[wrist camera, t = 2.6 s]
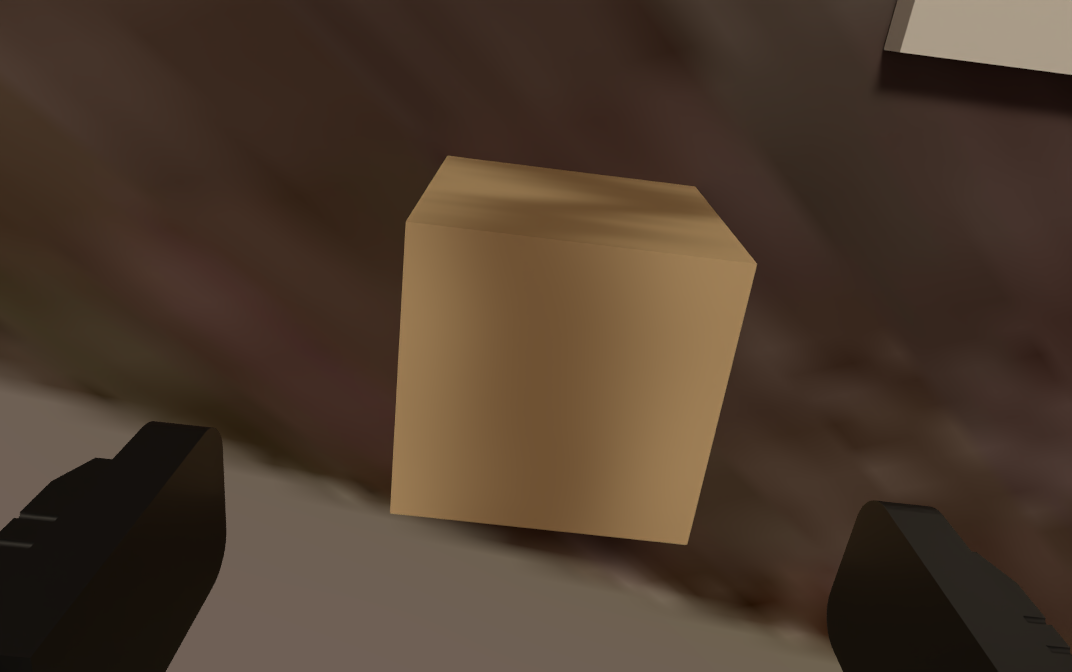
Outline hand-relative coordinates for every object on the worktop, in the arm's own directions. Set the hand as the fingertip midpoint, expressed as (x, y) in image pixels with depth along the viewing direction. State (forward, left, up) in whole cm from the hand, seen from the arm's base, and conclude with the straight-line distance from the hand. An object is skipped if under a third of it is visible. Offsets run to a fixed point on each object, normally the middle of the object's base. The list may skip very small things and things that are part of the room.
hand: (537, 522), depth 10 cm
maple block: (0, 0, -9) cm, 9 cm away
